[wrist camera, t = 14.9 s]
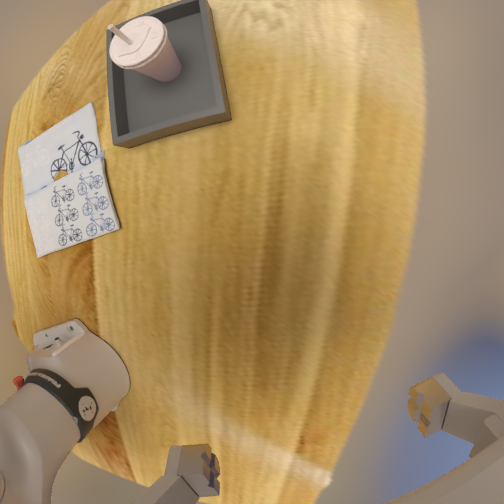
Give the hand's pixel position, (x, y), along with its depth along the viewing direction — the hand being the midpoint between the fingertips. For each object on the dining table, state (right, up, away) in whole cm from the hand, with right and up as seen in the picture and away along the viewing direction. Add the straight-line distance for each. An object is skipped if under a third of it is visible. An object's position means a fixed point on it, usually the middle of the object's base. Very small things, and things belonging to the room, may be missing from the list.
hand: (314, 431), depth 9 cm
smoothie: (-13, +30, +22) cm, 39 cm away
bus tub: (-13, +30, +22) cm, 40 cm away
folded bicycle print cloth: (-31, +18, +28) cm, 45 cm away
